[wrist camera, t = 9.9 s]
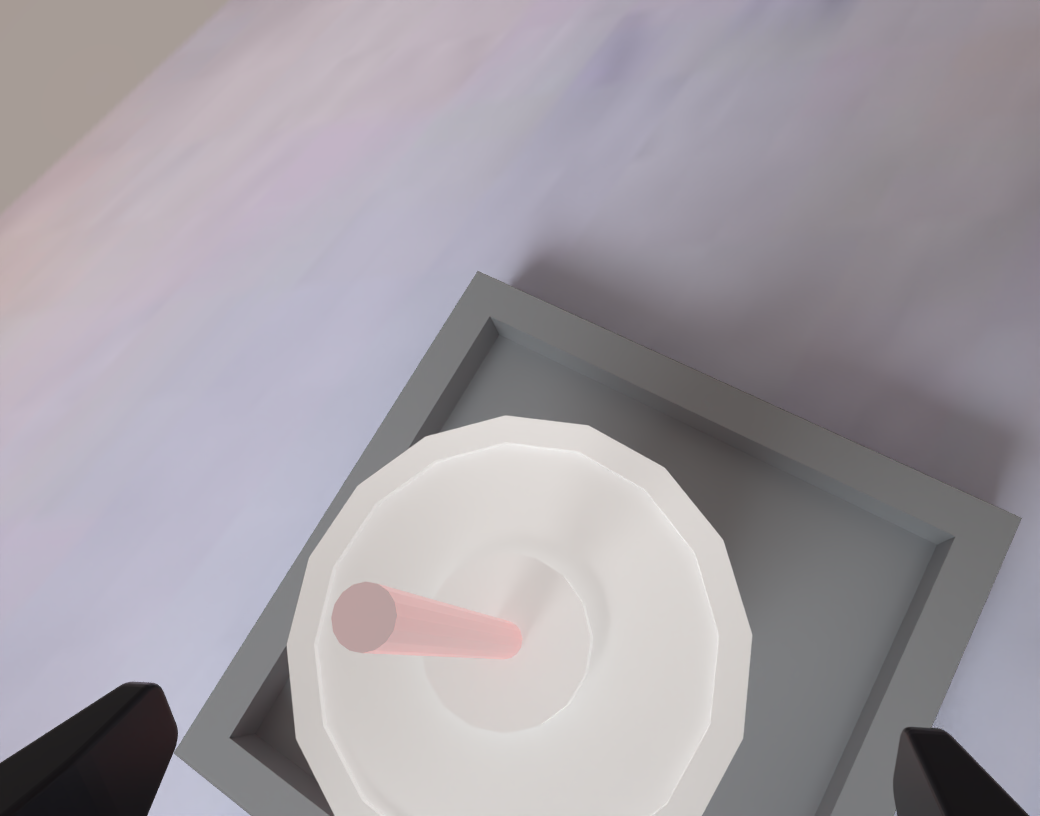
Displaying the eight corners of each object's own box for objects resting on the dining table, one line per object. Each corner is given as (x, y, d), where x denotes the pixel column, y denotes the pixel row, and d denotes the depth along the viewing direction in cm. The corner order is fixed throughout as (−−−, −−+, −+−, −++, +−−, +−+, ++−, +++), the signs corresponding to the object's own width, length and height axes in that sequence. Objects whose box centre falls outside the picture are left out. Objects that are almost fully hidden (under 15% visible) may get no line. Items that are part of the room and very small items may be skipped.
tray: (985, 533, 18) (1021, 517, 16) (720, 1136, 16) (727, 1200, 14) (493, 303, 23) (477, 270, 21) (219, 745, 20) (173, 753, 18)
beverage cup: (510, 491, 20) (208, 153, 7) (746, 575, 18) (949, 341, 5) (417, 728, 18) (-193, 877, 5) (664, 843, 17) (651, 1470, 4)
